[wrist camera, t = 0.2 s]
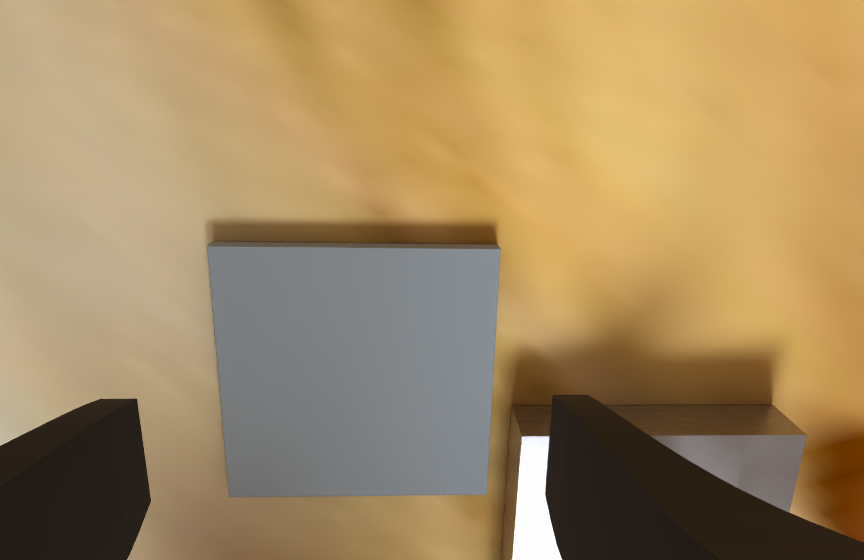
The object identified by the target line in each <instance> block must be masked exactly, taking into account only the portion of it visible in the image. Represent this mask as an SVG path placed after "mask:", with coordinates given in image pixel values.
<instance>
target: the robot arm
mask: <svg viewBox="0 0 864 560" xmlns="http://www.w3.org/2000/svg"><path fill="white" fill-rule="evenodd" d="M545 498H546V502H547V507H548V511H549V516H550V520H551V525H552V529H553V533H554V537H555V541H556V545H557V548H558V551H559V553H560V556H561V559H562V560H864V542H861V541H858V540H855V539H853V538H850V537H848V536H845V535H843V534H840V533H838V532H835V531H833V530H830V529H828V528H825V527H823V526H820V525H818V524H815V523H812V522H810V521H807V520H805V519H803V518H800V517H798V516H796V515H794V514H791V513H789V512H787V511H784V510H782V509H780V508H778V507H776V506H774V505H772V504H770V503H768V502H766V501H763V500H761V499H759V498H757V497H755V496H753V495H751V494H749V493H747V492H745V491H743V490H741V489H739V488H737V487H735V486H733V485H731V484H729V483H727V482H726V481H724V480H722V479H720V478H718V477H717V476H715V475H713V474H711V473H710V472H708V471H706V470H704V469H703V468H701V467H699V466H698V465H696V464H694V463H692V462H691V461H689V460H687V459H686V458H684V457H682V456H681V455H679V454H678V453H676V452H674V451H673V450H671V449H670V448H668V447H666V446H665V445H663V444H662V443H660V442H659V441H657V440H656V439H654V438H653V437H651V436H650V435H648V434H646V433H645V432H643V431H642V430H641V429H639V428H638V427H636V426H635V425H633V424H632V423H630V422H629V421H627V420H626V419H624V418H623V417H621V416H620V415H618V414H617V413H615V412H614V411H612V410H611V409H609V408H608V407H606V406H605V405H603V404H602V403H600V402H599V401H597V400H595V399H594V398H592V397H590V396H588V395H553V398H552V411H551V423H550V435H549V448H548V460H547V473H546V485H545ZM150 502H151V498H150V491H149V483H148V476H147V469H146V462H145V454H144V447H143V440H142V433H141V425H140V418H139V411H138V403H137V399H99V400H97V401H94V402H91V403H88V404H86V405H83V406H81V407H79V408H77V409H74V410H72V411H70V412H68V413H66V414H64V415H62V416H60V417H58V418H55V419H53V420H51V421H49V422H47V423H45V424H43V425H41V426H39V427H37V428H35V429H33V430H31V431H29V432H27V433H25V434H23V435H21V436H19V437H17V438H15V439H13V440H11V441H9V442H7V443H5V444H3V445H1V446H0V560H127V558H128V556H129V555H130V552H131V550H132V548H133V545H134V543H135V540H136V538H137V536H138V533H139V531H140V528H141V526H142V523H143V520H144V518H145V515H146V512H147V510H148V507H149V505H150Z"/></svg>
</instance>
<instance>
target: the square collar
mask: <svg viewBox="0 0 864 560" xmlns="http://www.w3.org/2000/svg"><path fill="white" fill-rule="evenodd" d="M605 406H606V407H608V408H609V409H611V410H612V411H614V412H615V413H617V414H618V415H620V416H621V417H623V418H624V419H626V420H627V421H629V422H630V423H632V424H633V425H635V426H636V427H638V428H639V429H641V430H642V431H643V432H645V433H646V434H648V435H650V436H651V437H653V438H654V439H656V440H657V441H659V442H660V443H662V444H663V445H665V446H666V447H668V448H670V449H671V450H673V451H674V452H676V453H678V454H679V455H681V456H682V457H684V458H686V459H687V460H689V461H691V462H692V463H694V464H696V465H698V466H699V467H701V468H703V469H704V470H706V471H708V472H710V473H711V474H713V475H715V476H717V477H718V478H720V479H722V480H724V481H726V482H727V483H729V484H731V485H733V486H735V487H737V488H739V489H741V490H743V491H745V492H747V493H749V494H751V495H753V496H755V497H757V498H759V499H761V500H763V501H766V502H768V503H770V504H772V505H774V506H776V507H778V508H780V509H782V510H784V511H787V512H789V511H790V507H791V502H792V498H793V494H794V489H795V485H796V481H797V476H798V472H799V467H800V463H801V459H802V454H803V450H804V446H805V441H806V437H807V435H806V434H805V433H804V432H803V431H802V430H801V429H800V428H798V427H797V426H796V425H795V424H794V423H793V422H792V421H791V420H789V419H788V418H787V417H786V416H785V415H784V414H783V413H781V412H780V411H779V410H778V409H777V408H776V407H775V406H774V405H605ZM551 411H552V406H511V421H510V436H509V450H508V465H507V480H506V495H505V509H504V524H503V539H502V554H501V560H562V559H561V556H560V553H559V551H558V548H557V545H556V541H555V537H554V533H553V529H552V525H551V520H550V516H549V511H548V507H547V502H546V498H545V485H546V473H547V460H548V448H549V435H550V423H551Z"/></svg>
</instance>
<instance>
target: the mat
mask: <svg viewBox="0 0 864 560" xmlns="http://www.w3.org/2000/svg"><path fill="white" fill-rule="evenodd" d="M207 250H208V261H209V273H210V284H211V296H212V307H213V319H214V330H215V342H216V353H217V365H218V376H219V388H220V399H221V411H222V422H223V434H224V445H225V457H226V468H227V480H228V491H229V497H302V496H400V495H487V477H488V460H489V442H490V425H491V407H492V390H493V372H494V355H495V337H496V320H497V302H498V285H499V267H500V250H501V249H500V247H499V246H498V244H404V243H307V242H212V243H210V244H209V245H208V246H207Z"/></svg>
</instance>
